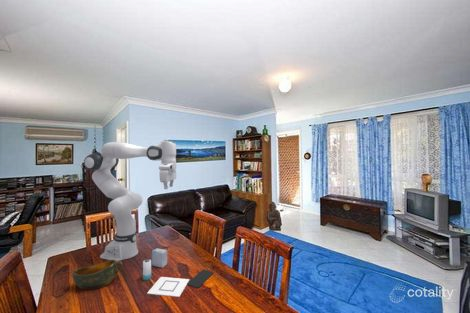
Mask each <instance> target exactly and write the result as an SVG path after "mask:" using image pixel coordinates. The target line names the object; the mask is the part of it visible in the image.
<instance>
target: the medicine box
mask: <svg viewBox="0 0 470 313" xmlns="http://www.w3.org/2000/svg"><path fill="white" fill-rule="evenodd" d="M167 264H168V250H167V249H163V248H158V247H156V248H154V249H153V250H152V251H151V267H152V266H153V267H158V268H162V269H163V268H164V267H166V265H167Z"/></svg>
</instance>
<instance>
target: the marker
mask: <svg viewBox="0 0 470 313" xmlns="http://www.w3.org/2000/svg"><path fill="white" fill-rule="evenodd" d="M151 279H152V258H147V259H144V260H143V261H142V280H143V281H148V280H151Z"/></svg>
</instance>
